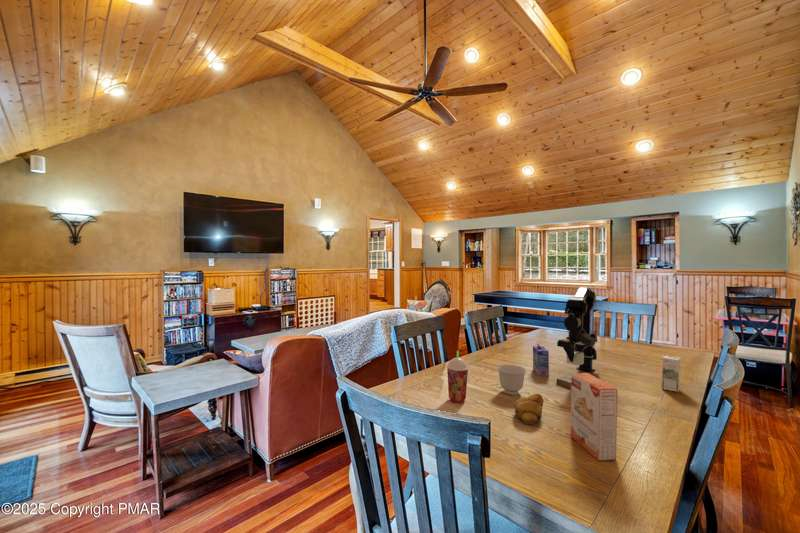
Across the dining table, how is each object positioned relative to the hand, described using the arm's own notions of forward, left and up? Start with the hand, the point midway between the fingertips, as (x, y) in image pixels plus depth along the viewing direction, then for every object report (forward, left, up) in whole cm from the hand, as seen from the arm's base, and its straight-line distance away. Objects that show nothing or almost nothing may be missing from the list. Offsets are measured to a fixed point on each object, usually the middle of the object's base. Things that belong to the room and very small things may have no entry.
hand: (575, 360), depth 160 cm
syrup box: (-32, +25, -11) cm, 42 cm away
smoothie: (+57, -13, -11) cm, 60 cm away
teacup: (+30, -9, -11) cm, 34 cm away
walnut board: (0, 0, -12) cm, 12 cm away
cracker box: (+45, +35, -11) cm, 58 cm away
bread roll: (+46, +11, -11) cm, 48 cm away
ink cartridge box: (-2, -19, -11) cm, 23 cm away
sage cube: (0, 0, -1) cm, 1 cm away
